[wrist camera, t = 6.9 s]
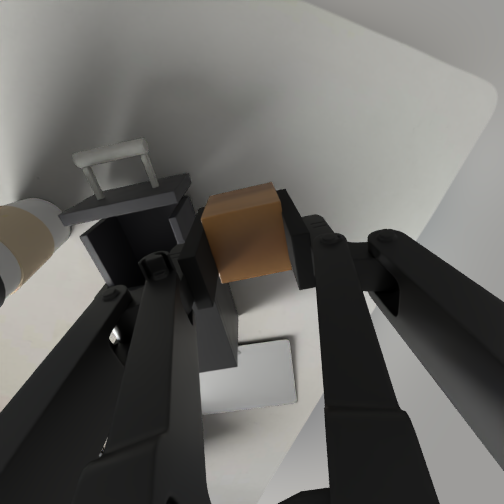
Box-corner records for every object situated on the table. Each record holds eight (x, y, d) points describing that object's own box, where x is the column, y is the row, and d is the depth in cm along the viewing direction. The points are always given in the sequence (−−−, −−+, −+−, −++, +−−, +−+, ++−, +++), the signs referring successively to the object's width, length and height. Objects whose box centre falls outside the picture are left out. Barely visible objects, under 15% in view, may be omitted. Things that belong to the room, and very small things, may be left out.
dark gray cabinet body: (127, 254, 37) (93, 298, 28) (215, 237, 36) (206, 276, 27) (164, 329, 44) (146, 382, 35) (238, 316, 43) (237, 367, 34)
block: (209, 195, 16) (200, 218, 13) (272, 181, 16) (280, 200, 13) (225, 250, 18) (221, 284, 15) (282, 239, 18) (292, 270, 14)
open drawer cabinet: (77, 151, 29) (27, 164, 22) (175, 129, 28) (154, 135, 22) (141, 282, 38) (119, 320, 31) (218, 267, 37) (213, 303, 30)
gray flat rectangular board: (286, 319, 43) (287, 324, 42) (296, 400, 55) (297, 405, 54) (140, 340, 45) (138, 346, 44) (180, 414, 56) (179, 420, 55)
